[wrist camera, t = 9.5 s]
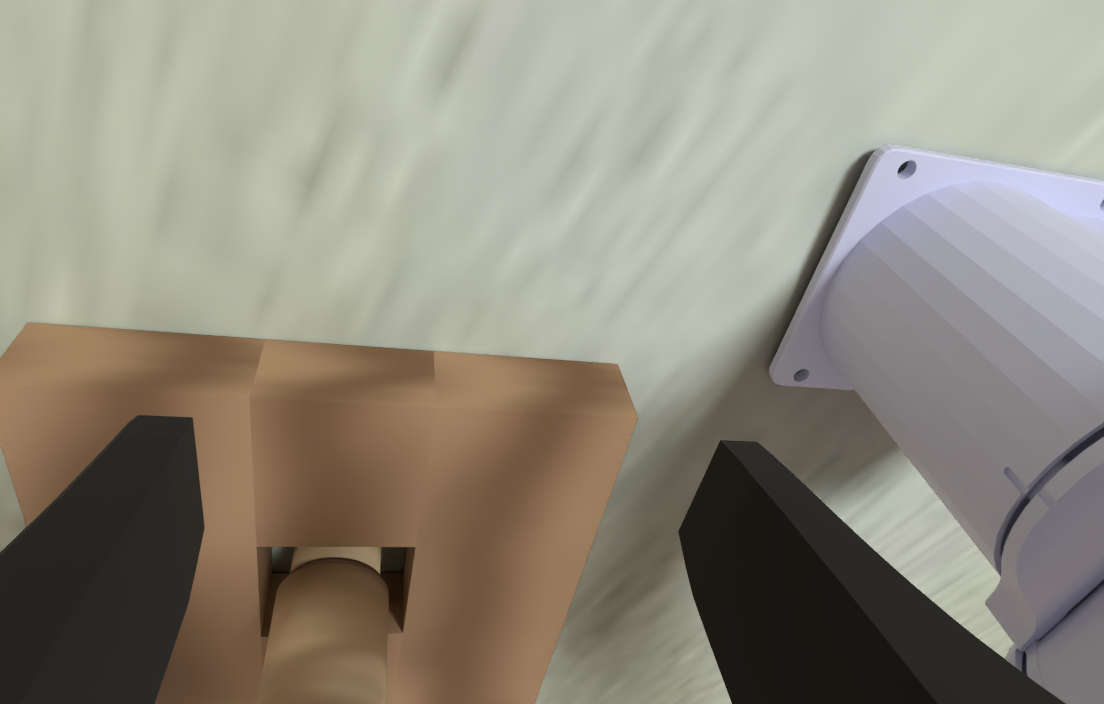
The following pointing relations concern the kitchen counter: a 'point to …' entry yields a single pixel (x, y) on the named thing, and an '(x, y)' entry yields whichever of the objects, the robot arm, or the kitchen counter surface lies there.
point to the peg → (328, 630)
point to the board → (346, 487)
